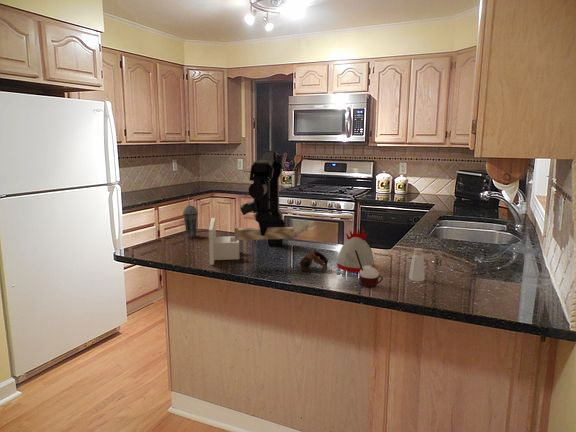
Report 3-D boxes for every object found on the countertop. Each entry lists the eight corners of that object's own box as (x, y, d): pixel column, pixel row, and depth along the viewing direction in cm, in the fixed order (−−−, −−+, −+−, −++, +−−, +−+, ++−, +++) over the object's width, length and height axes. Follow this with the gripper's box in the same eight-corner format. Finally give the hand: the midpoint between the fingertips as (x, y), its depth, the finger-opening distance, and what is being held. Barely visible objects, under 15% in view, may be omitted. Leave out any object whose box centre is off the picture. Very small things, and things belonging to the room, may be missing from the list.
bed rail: (291, 235, 168) (291, 223, 167) (294, 239, 162) (294, 226, 161) (234, 237, 165) (234, 225, 164) (234, 241, 159) (234, 228, 158)
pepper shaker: (418, 282, 143) (420, 251, 141) (405, 278, 147) (407, 248, 145) (428, 279, 146) (430, 249, 144) (415, 275, 150) (416, 245, 148)
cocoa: (382, 285, 141) (386, 251, 139) (379, 291, 136) (383, 255, 134) (354, 280, 145) (357, 247, 143) (350, 285, 139) (353, 250, 137)
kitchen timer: (371, 273, 152) (373, 233, 150) (334, 270, 156) (335, 231, 154) (375, 263, 166) (376, 226, 163) (340, 260, 169) (341, 223, 167)
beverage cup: (201, 235, 211) (200, 196, 208) (192, 238, 205) (191, 198, 201) (190, 234, 214) (188, 195, 211) (180, 237, 208) (179, 197, 204)
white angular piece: (238, 248, 187) (238, 217, 185) (239, 263, 164) (239, 228, 161) (212, 248, 186) (211, 217, 183) (209, 264, 162) (208, 229, 160)
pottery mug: (306, 266, 163) (317, 249, 161) (323, 281, 158) (335, 264, 156) (289, 265, 153) (300, 247, 151) (306, 282, 148) (318, 263, 146)
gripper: (240, 192, 168) (241, 230, 171) (241, 198, 150) (242, 241, 153) (268, 191, 170) (268, 229, 173) (272, 198, 151) (272, 240, 154)
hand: (262, 234), depth 163 cm, fingers closed on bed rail, 3 cm apart
